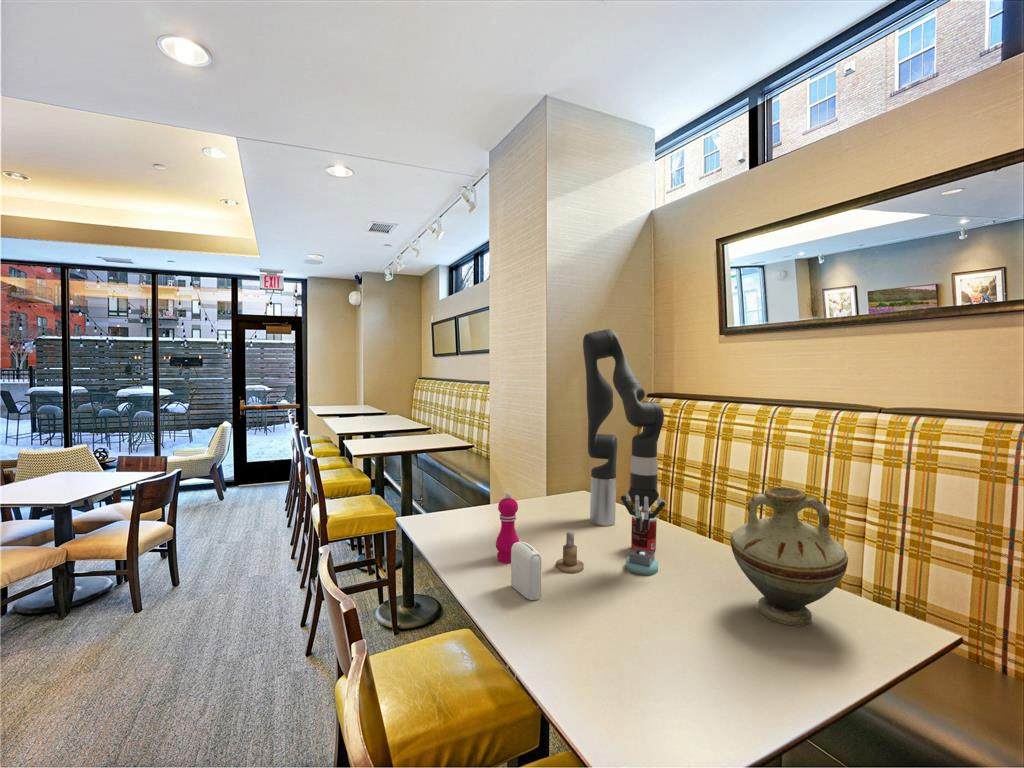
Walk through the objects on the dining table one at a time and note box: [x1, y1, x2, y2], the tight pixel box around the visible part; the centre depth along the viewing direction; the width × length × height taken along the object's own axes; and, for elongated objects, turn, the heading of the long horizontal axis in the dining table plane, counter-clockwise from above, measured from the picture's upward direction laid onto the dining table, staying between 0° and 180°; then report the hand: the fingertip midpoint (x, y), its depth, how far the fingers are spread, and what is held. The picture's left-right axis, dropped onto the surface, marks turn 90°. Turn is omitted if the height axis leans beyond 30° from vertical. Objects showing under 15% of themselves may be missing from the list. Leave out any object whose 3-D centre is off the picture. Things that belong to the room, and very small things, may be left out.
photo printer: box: [510, 541, 542, 601], centre depth 119 cm, size 10×4×12 cm, turn 29°
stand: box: [555, 531, 585, 574], centre depth 134 cm, size 8×8×10 cm
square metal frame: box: [628, 548, 656, 567], centre depth 134 cm, size 6×6×2 cm
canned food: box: [630, 512, 658, 553], centre depth 148 cm, size 8×8×11 cm
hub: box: [625, 552, 659, 576], centre depth 134 cm, size 9×9×4 cm
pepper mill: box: [495, 492, 520, 564], centre depth 139 cm, size 7×7×20 cm
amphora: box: [729, 487, 849, 627], centre depth 109 cm, size 24×24×30 cm
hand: (642, 530), depth 134 cm, fingers closed
